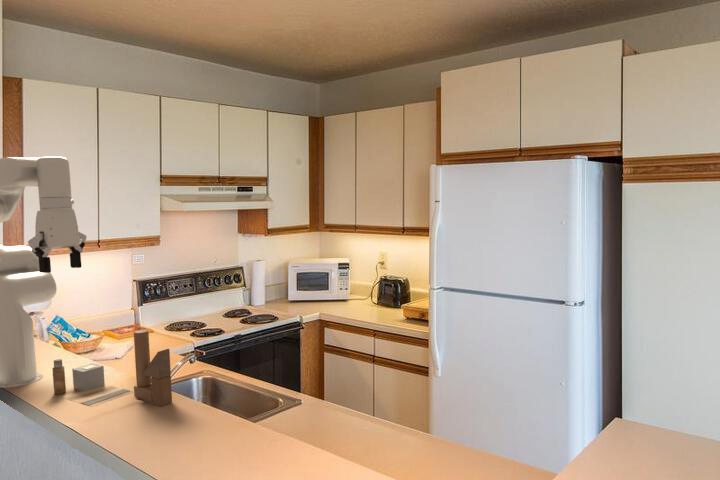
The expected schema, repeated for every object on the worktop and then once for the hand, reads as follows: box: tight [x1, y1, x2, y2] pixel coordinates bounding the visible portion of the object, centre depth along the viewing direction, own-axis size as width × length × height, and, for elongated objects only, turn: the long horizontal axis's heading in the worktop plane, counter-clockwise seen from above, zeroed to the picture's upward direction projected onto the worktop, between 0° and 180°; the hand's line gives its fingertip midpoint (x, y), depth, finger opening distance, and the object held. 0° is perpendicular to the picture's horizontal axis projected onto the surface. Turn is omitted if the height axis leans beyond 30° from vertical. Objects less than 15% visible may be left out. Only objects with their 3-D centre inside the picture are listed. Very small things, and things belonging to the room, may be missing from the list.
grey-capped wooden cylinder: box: [52, 358, 67, 396], centre depth 154 cm, size 3×3×9 cm
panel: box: [52, 384, 134, 408], centre depth 154 cm, size 18×12×1 cm, turn 57°
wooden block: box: [133, 329, 173, 407], centre depth 149 cm, size 4×11×18 cm, turn 58°
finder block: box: [72, 362, 106, 392], centre depth 159 cm, size 5×6×6 cm
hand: (61, 270), depth 151 cm, fingers open, 9 cm apart
